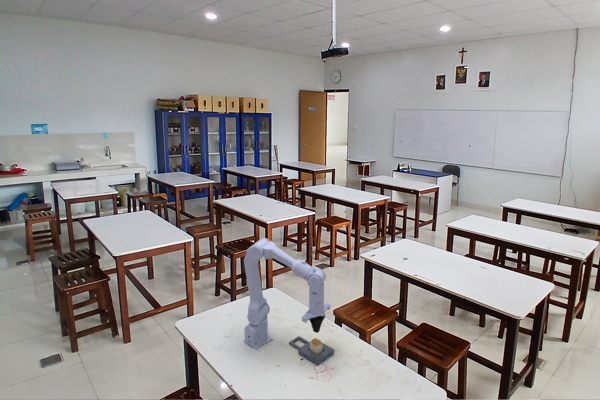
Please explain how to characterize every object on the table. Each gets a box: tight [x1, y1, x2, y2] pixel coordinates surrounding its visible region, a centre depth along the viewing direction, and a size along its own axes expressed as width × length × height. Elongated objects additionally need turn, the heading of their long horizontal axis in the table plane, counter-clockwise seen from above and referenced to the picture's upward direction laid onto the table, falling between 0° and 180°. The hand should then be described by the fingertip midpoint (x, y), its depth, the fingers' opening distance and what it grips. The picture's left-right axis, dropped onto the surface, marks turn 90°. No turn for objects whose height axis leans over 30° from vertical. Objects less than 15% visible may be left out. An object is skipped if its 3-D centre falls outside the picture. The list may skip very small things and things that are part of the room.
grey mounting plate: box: [288, 335, 311, 351], centre depth 158 cm, size 6×7×1 cm
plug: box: [310, 337, 322, 355], centre depth 152 cm, size 3×4×6 cm
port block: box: [297, 341, 335, 366], centre depth 152 cm, size 10×10×2 cm
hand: (316, 331), depth 152 cm, fingers closed
